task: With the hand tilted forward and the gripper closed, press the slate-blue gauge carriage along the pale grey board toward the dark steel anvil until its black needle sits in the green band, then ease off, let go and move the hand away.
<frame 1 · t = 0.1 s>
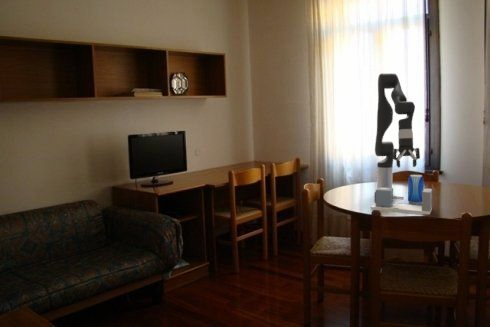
hand: (406, 167, 251), 22 cm above the table, tool pointing down, fingers open, 8 cm apart
beer can: (415, 203, 262), on the table
gauge carriage: (389, 197, 249), point 6 cm above the table, slide at 0.0 cm
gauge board: (401, 209, 248), on the table
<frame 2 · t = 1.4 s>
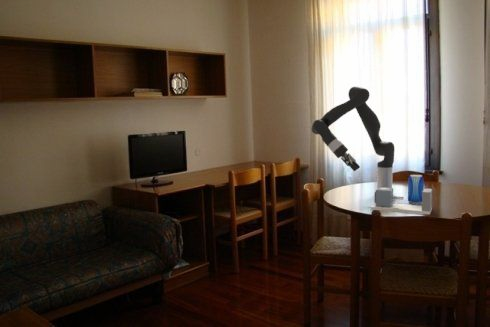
hand: (357, 169, 256), 21 cm above the table, tool tilted 45°, fingers open, 8 cm apart
nothing on the table moved.
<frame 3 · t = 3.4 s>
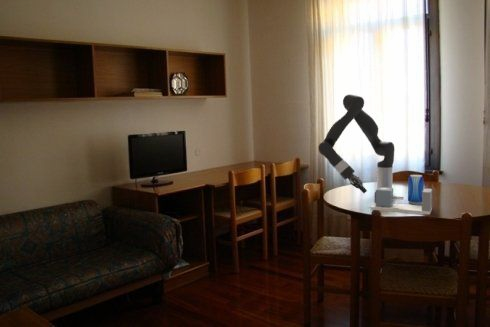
hand: (365, 192, 255), 8 cm above the table, tool tilted 45°, fingers closed
nothing on the table moved.
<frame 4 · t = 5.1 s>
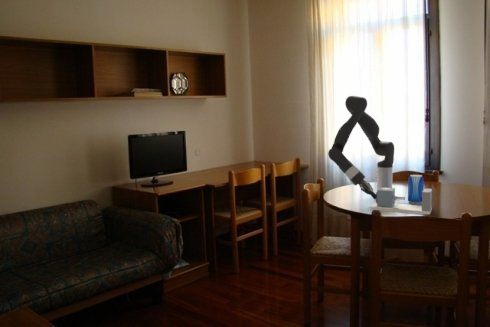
hand: (376, 198, 253), 5 cm above the table, tool tilted 45°, fingers closed
gauge carriage: (390, 197, 249), point 6 cm above the table, slide at 0.8 cm, touching gripper
everything else where it was.
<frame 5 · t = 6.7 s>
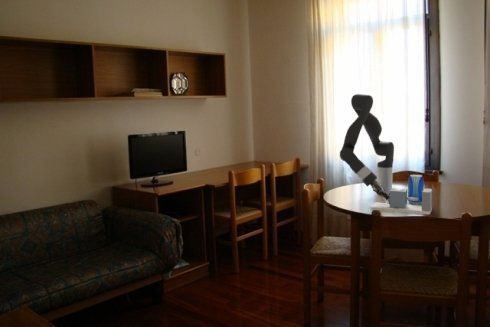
hand: (388, 199, 250), 5 cm above the table, tool tilted 45°, fingers closed
gauge carriage: (403, 198, 246), point 6 cm above the table, slide at 7.5 cm, touching gripper
everything else where it was.
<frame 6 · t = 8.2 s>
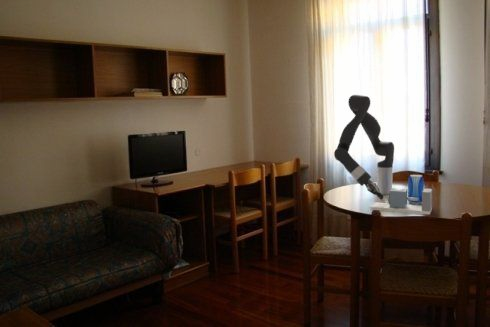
hand: (382, 198, 252), 5 cm above the table, tool tilted 45°, fingers closed
gauge carriage: (403, 198, 246), point 6 cm above the table, slide at 7.5 cm
everything else where it was.
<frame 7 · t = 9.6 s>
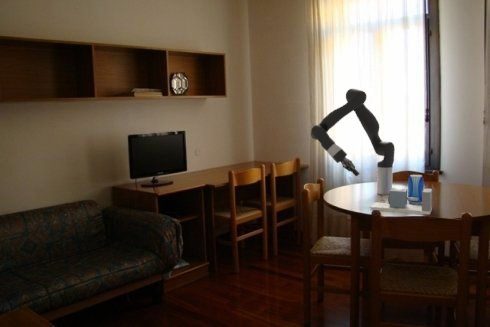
hand: (358, 175, 256), 18 cm above the table, tool tilted 45°, fingers closed
nothing on the table moved.
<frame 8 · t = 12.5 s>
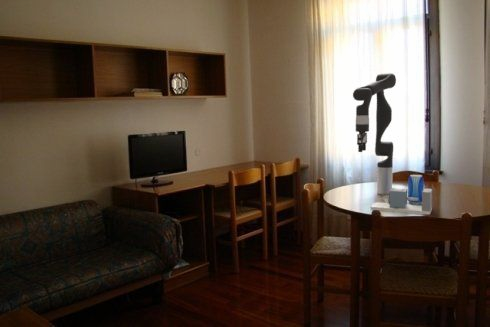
hand: (362, 151, 264), 30 cm above the table, tool pointing down, fingers open, 8 cm apart
nothing on the table moved.
at the end: gauge carriage slide at 7.5 cm; beer can moved 0.2 cm from its start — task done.
